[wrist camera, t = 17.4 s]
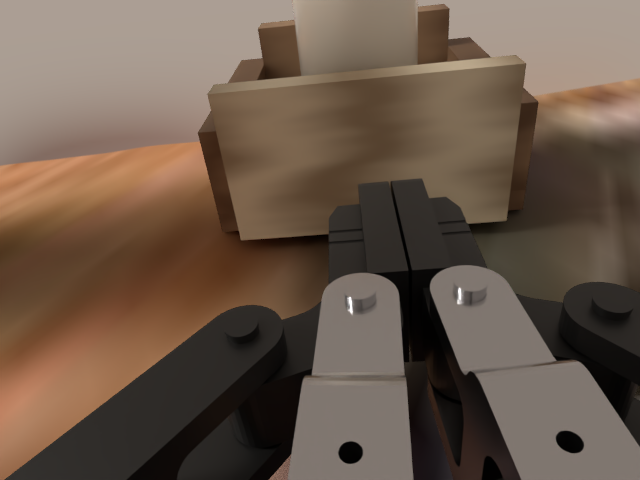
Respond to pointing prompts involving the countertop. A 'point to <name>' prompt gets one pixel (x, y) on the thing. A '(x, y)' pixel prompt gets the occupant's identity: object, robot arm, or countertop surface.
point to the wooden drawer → (368, 140)
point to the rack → (285, 63)
